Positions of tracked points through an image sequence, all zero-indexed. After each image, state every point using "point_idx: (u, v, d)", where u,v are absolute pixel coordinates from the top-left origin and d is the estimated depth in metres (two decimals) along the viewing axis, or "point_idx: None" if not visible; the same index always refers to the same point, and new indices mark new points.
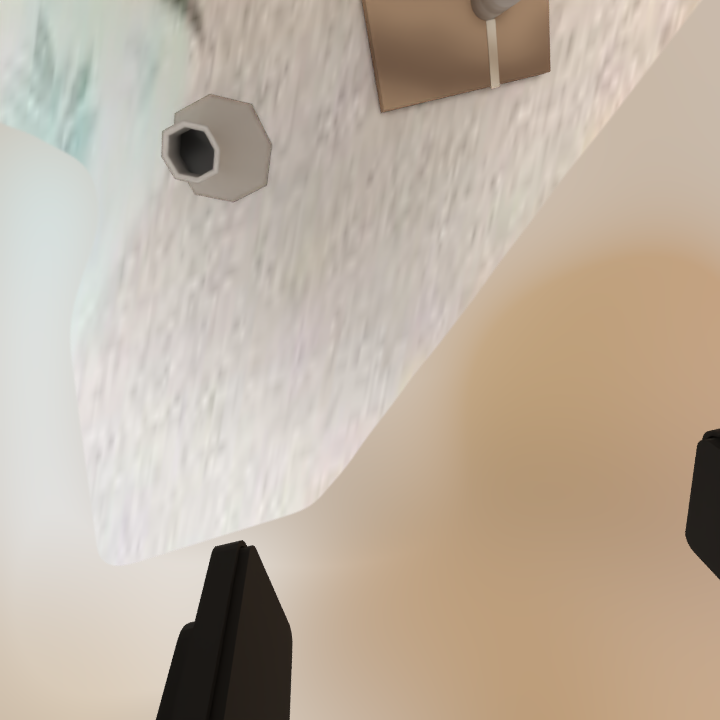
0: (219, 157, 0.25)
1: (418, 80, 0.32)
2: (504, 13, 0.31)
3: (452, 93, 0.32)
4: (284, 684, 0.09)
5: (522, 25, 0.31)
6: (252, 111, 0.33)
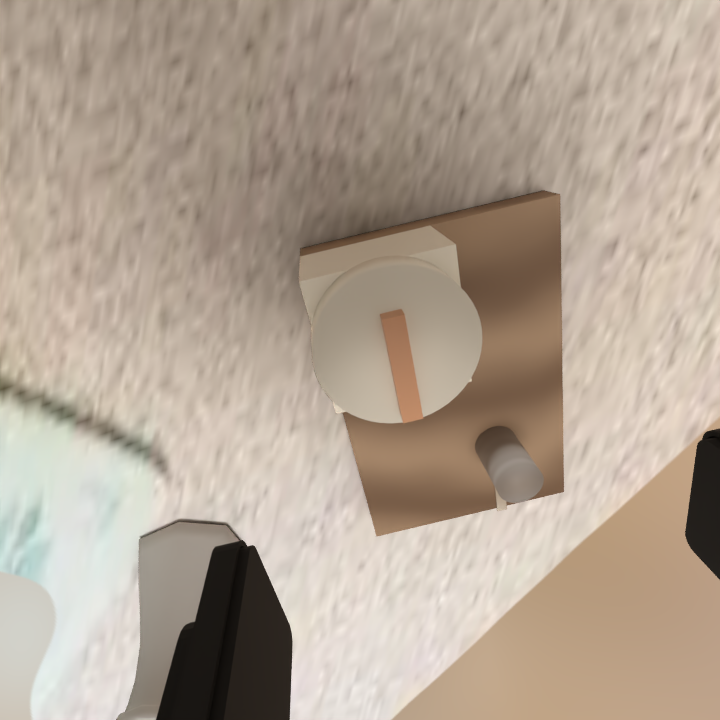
0: None
1: (415, 510, 0.28)
2: None
3: (453, 517, 0.29)
4: (284, 684, 0.09)
5: (533, 460, 0.27)
6: (227, 535, 0.29)
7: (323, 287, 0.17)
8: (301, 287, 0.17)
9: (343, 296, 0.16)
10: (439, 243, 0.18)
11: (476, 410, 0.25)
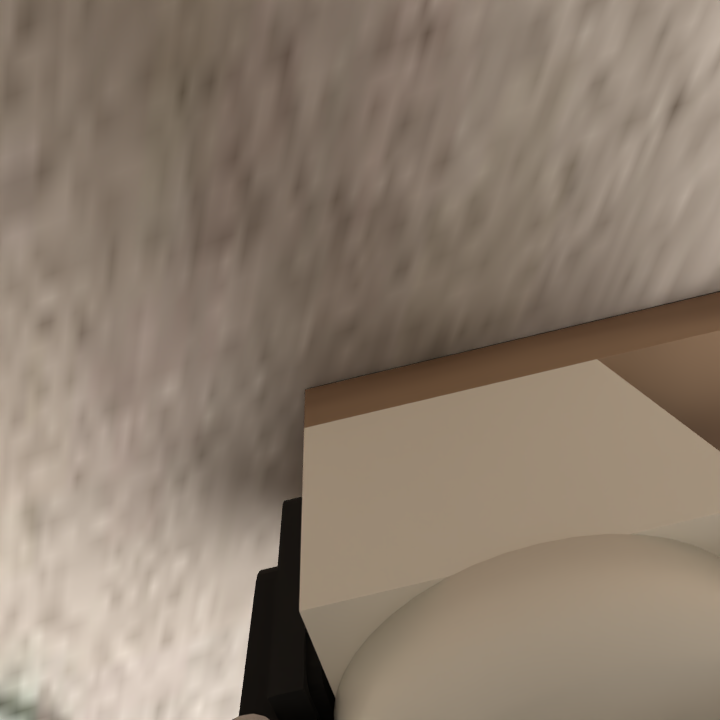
0: None
1: None
2: None
3: None
4: None
5: None
6: None
7: (373, 618, 0.06)
8: (307, 622, 0.06)
9: None
10: (705, 473, 0.06)
11: None
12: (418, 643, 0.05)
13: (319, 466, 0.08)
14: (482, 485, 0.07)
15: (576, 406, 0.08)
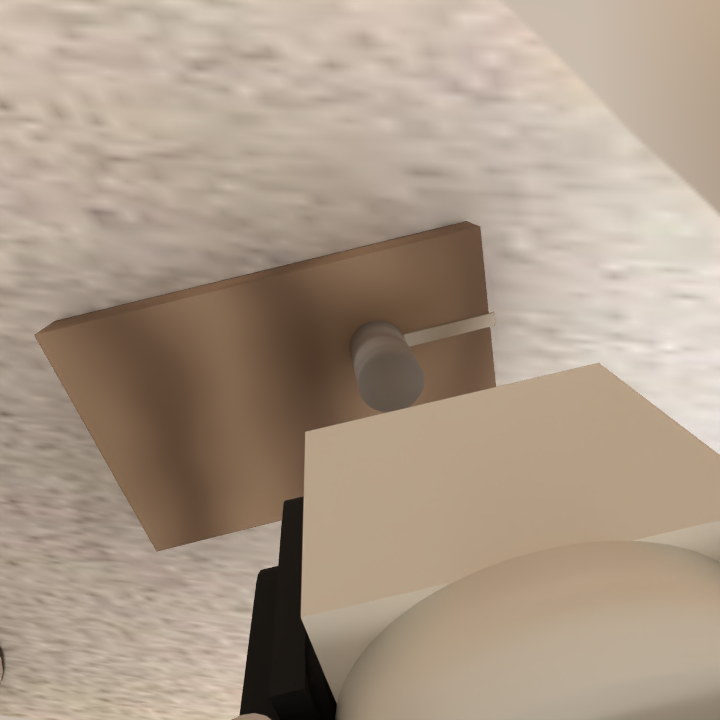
0: None
1: None
2: (396, 320, 0.19)
3: (493, 381, 0.21)
4: None
5: (412, 289, 0.19)
6: None
7: (375, 625, 0.06)
8: (309, 628, 0.06)
9: None
10: (707, 479, 0.06)
11: (324, 378, 0.20)
12: (420, 650, 0.05)
13: (320, 470, 0.08)
14: (484, 490, 0.07)
15: (578, 410, 0.08)
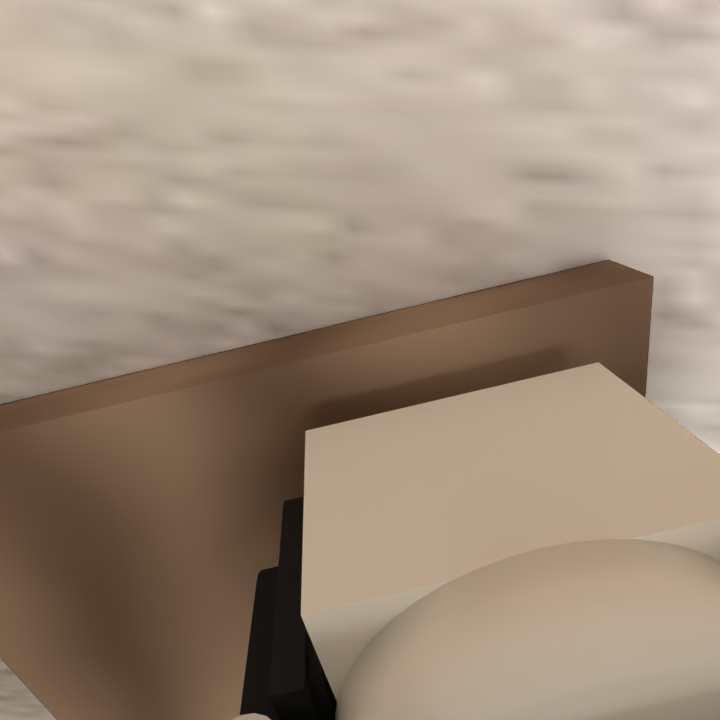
0: None
1: None
2: None
3: None
4: None
5: None
6: None
7: (375, 622, 0.06)
8: (309, 626, 0.06)
9: None
10: (706, 477, 0.06)
11: None
12: (420, 648, 0.05)
13: (320, 469, 0.08)
14: (483, 489, 0.07)
15: (577, 409, 0.08)
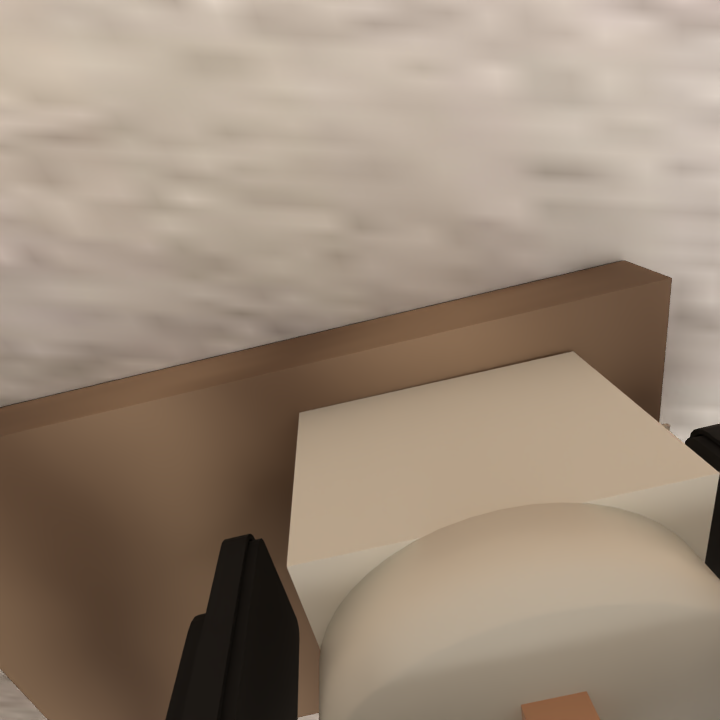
0: None
1: None
2: None
3: None
4: (292, 675, 0.09)
5: None
6: None
7: (353, 575, 0.06)
8: (294, 577, 0.06)
9: (419, 678, 0.05)
10: (655, 451, 0.07)
11: None
12: (389, 594, 0.06)
13: (311, 446, 0.09)
14: (456, 462, 0.07)
15: (548, 393, 0.09)
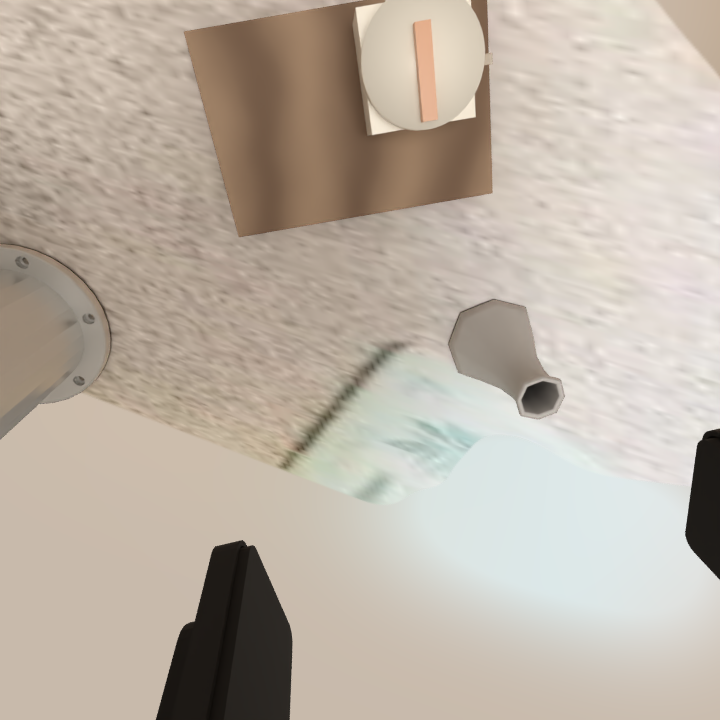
0: (549, 378, 0.29)
1: (471, 154, 0.31)
2: None
3: (489, 114, 0.30)
4: (284, 684, 0.09)
5: None
6: (467, 313, 0.37)
7: (372, 14, 0.24)
8: (357, 13, 0.24)
9: (388, 5, 0.23)
10: None
11: None
12: None
13: None
14: None
15: None
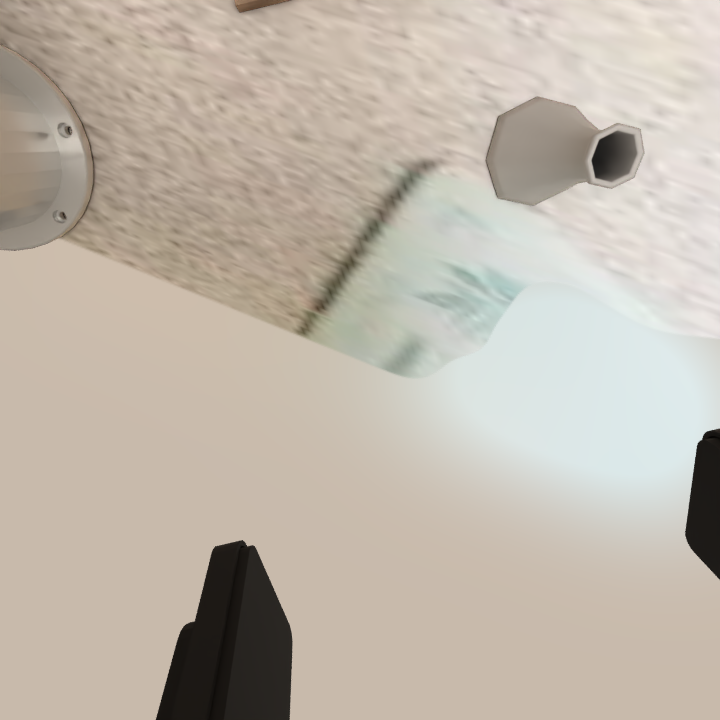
0: (625, 125, 0.24)
1: None
2: None
3: None
4: (284, 684, 0.09)
5: None
6: (507, 115, 0.32)
7: None
8: None
9: None
10: None
11: None
12: None
13: None
14: None
15: None
